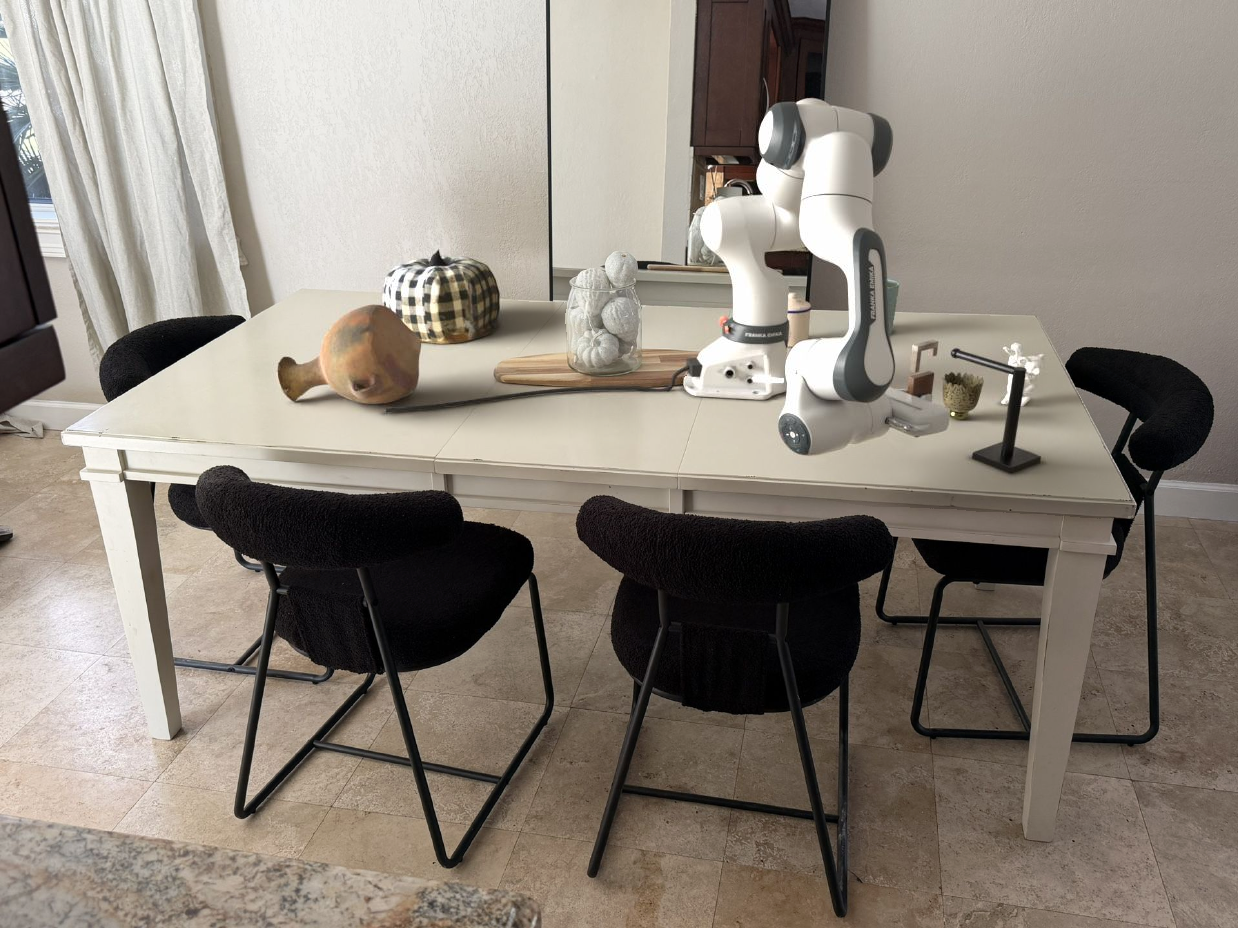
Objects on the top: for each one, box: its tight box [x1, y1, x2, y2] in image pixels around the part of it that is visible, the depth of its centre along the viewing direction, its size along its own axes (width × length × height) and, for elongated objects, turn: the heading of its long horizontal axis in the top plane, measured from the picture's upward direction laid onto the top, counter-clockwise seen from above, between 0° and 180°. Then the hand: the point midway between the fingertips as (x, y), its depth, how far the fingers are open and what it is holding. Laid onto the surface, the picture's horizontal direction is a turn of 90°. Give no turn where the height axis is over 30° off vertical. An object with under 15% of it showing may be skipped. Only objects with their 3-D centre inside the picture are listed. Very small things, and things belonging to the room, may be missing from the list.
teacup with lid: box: [787, 292, 812, 348], centre depth 237 cm, size 12×9×12 cm
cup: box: [941, 371, 985, 421], centre depth 192 cm, size 8×7×8 cm
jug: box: [276, 304, 422, 405], centre depth 203 cm, size 20×20×30 cm
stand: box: [950, 347, 1042, 475], centre depth 175 cm, size 8×18×17 cm, turn 34°
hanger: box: [907, 339, 939, 438], centre depth 170 cm, size 5×5×16 cm
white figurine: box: [1000, 342, 1046, 407], centre depth 198 cm, size 8×7×12 cm
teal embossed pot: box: [887, 278, 900, 335], centre depth 244 cm, size 10×10×12 cm
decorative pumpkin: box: [381, 248, 501, 345], centre depth 250 cm, size 30×29×20 cm
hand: (922, 395), depth 171 cm, fingers closed on hanger
